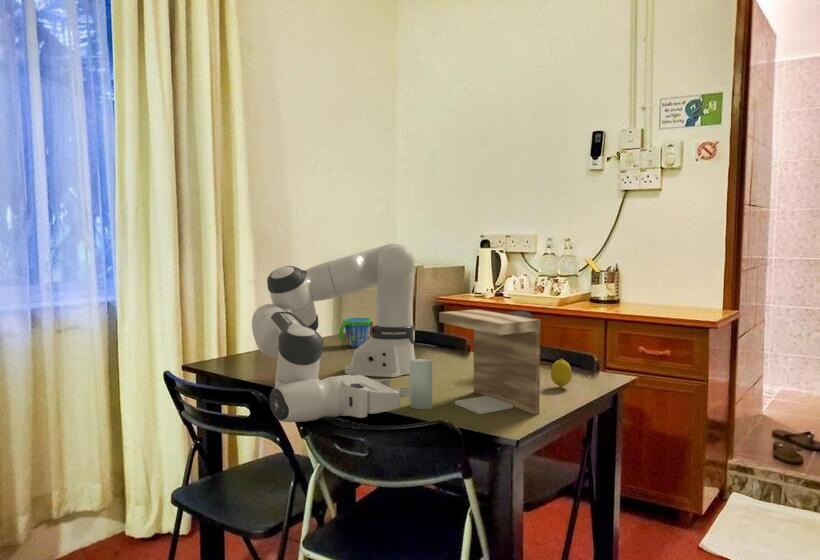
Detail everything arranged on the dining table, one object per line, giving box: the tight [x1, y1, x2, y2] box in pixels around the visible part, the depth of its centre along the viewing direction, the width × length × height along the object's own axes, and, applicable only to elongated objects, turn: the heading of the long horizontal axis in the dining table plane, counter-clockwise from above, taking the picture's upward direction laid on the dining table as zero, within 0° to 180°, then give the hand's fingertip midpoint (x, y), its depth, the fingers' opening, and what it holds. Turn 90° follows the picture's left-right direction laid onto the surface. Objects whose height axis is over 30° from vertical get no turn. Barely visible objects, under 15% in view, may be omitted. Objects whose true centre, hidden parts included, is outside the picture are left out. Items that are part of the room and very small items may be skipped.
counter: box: [438, 308, 541, 416], centre depth 148 cm, size 12×24×22 cm, turn 30°
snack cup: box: [338, 317, 374, 348], centre depth 230 cm, size 16×10×10 cm
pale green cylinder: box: [408, 358, 433, 410], centre depth 148 cm, size 6×6×11 cm
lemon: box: [550, 358, 573, 389], centre depth 165 cm, size 6×6×8 cm
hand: (397, 387), depth 145 cm, fingers open, 8 cm apart
